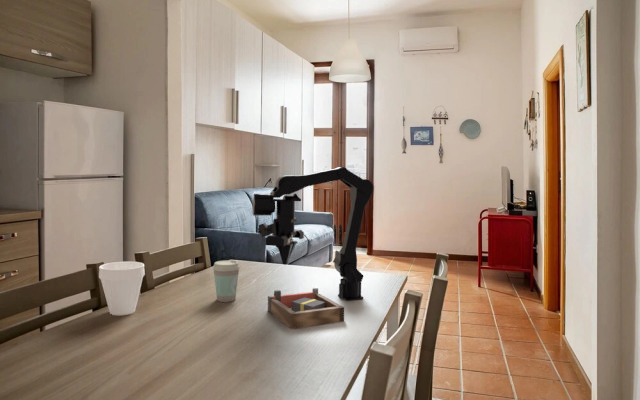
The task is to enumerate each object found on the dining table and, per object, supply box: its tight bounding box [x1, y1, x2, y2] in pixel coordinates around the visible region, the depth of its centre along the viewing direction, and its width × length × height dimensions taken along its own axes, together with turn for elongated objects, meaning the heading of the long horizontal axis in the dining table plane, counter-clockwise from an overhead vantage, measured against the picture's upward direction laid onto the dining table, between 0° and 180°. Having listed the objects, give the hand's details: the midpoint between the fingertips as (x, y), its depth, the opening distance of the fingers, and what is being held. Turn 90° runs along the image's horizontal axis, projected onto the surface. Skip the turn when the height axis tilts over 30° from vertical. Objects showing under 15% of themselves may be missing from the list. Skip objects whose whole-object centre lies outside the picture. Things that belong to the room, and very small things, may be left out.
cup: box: [98, 260, 146, 316], centre depth 139 cm, size 12×12×14 cm
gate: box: [271, 287, 319, 309], centre depth 146 cm, size 15×2×6 cm, turn 116°
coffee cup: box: [212, 259, 241, 303], centre depth 154 cm, size 8×9×12 cm
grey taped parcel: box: [291, 297, 326, 312], centre depth 141 cm, size 6×8×4 cm
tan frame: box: [267, 293, 345, 330], centre depth 138 cm, size 16×18×4 cm
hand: (284, 264), depth 153 cm, fingers closed
